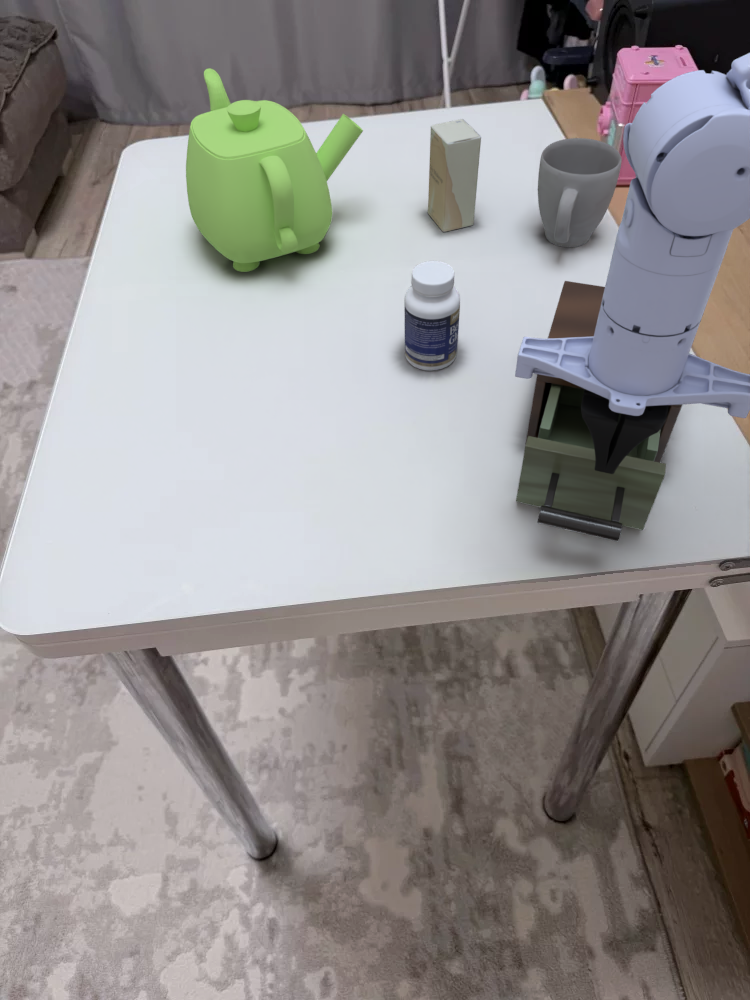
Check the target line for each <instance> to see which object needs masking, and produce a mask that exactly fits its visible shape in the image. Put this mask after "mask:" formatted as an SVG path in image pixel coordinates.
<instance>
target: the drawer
mask: <svg viewBox="0 0 750 1000" xmlns="http://www.w3.org/2000/svg"><path fill="white" fill-rule="evenodd" d="M584 390H585V389H580V388H575V387H569V386H564V385H559V384H553V383H552V385H551V389H550V393H549V396H548V400H547V404H546V407H545V411H544V415H543V418H542V422H541V426H540V430H539V435H538V438H536V437H531V436H528V438H527V442H526V441H525V443H526V445H525V444H524V445H525V446H524V451H523V457H522V461H521V462H522V463H521V469H520V475H519V479H518V487H517V492H516V498H515V502H516V503H521V504H524V505H529V506H533V507H538V508H539V512H538V516H537V521H536V523H537V524H540V525H543V526H549V527H552V528H558V529H561V530H562V529H563V530H566V531H570V532H574V533H579V534H584V535H587V536H592V537H595V538H600V539H605V540H610V541H613V542H619V541H620V538H621V534H622V530H623V527H627V528H630V529H635V530H640V531H643V530H644V529H645V527H646V524H647V521H648V519H649V516H650V514H651V512H652V510H653V507H654V504H655V501H656V499H657V497H658V493H659V491H660V489H661V486H662V483H663V481H664V479H665V476H666V471H667V470H666V469H667V463H663V462H660V463H659V462H654V460H655V457H656V454H657V452H658V445H659V437H660V430H661V429H660V430H659V432H657V433H655V434H653V435H651V436H650V437H648V438H646V439H645V440H643V441H642V442H641V443H639V444H638V445H637V446H636V447H635V448H633V449H632V450H631V451H630V452H629V454H628V455H627V456H626V457H625V458H624V459H623V460H622V462H621V463H620V464H619V466H618V467H617V469H616V471H615V473H614V474H609V473H604V472H599V471H595V449H594V444H593V440H592V436H591V433H590V431H589V428H588V426H587V424H586V422H585V421H584V419H583V418H582V412H581V403H582V399H583V394H584ZM621 414H622V413H619V417H618V422H619V419H620V417H621ZM617 424H618V423H617ZM616 427H617V425H616ZM615 429H616V428H615ZM614 432H615V431H614ZM613 434H614V433H613ZM612 437H613V436H612Z"/></svg>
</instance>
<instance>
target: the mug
mask: <svg viewBox="0 0 750 1000" xmlns="http://www.w3.org/2000/svg"><path fill="white" fill-rule="evenodd" d="M539 159H540V160H539V166H538V174H537V175H538V177H537V178H538V179H537V202H538V203H537V204H538V211H539V216H540V219H541V222H542V223H541V224H542V226H543V229H544V235H545V239H546V240H547V241H548V242H549V243H551V244H553V245H556V246H557V247H562V248H576V247H580V246H581V247H582V246H583V245H585V244H587V243H588V242H589V240H590V239H591V237H592V235H593V233H594V232H595V230H596V229H597V228H598V226H599V225H600V224H601V221H602V220H603V219H604V217H605V215H606V213H607V211H608V209H609V208H610V207H609V206H610V204H611V202H612V200H613V197H614V194H615V191H616V188H617V184H618V182H619V181H618V180H619V177H620V172H621V169H622V161H623V159H622V156H621V153H620V152H619V150H618V149H617V148H615V147H614V146H613V145H610V144H609V143H606V142H605V141H601V140H597V139H593V138H586V137H584V138H583V137H569V138H564V139H560V140H556V141H554V142H552V143H550V144H548V145H547V146H545V148H544V149H543V150H542V152H541V155H540V158H539Z"/></svg>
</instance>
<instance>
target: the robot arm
mask: <svg viewBox="0 0 750 1000" xmlns="http://www.w3.org/2000/svg"><path fill="white" fill-rule="evenodd" d="M730 66H731V68H730V69H729V70H728V72H726V74H725V73H722V72H720V71H717V70H711V72H710V73H707V72H706V71H705V69H699V70H693V71H688V72H685V73H682V74H680V75H676V76H675V77H673V78H671V79H669V80H667V81H666V82H665V83H663V84H662V85H660V86H659V87H657V88H656V89H655V90H654V91H653V92H652V93H651V94H650V96H651V97H650V98H649V99H648V100H647V102H645V101H644V102H643V103H642V104H641V106H640V107H639V109H638V111H637V112H636V114H635V116H634V118H633V120H632V122H628V123H626V124H625V125H624V128H623V135H622V143H623V144H622V145H623V149H624V154H625V156H626V160H627V162H628V164H629V165H630V167H631V169H632V170H633V172H634V174H635V177H634V178H632V179H631V180H630V183H629V189H628V192H627V196H626V200H625V204H624V209H623V213H622V217H621V221H620V222H619V226H618V229H617V232H616V237H615V241H614V246H613V250H612V254H611V259H610V264H609V267H608V272H607V276H606V281H605V286H604V287H605V289H604V294H603V298H602V302H601V307H600V311H599V315H598V320H597V324H596V328H595V333H594V336H592V337H572V338H551V339H548V338H541V337H533V336H532V337H531V336H523V338H522V341H521V343H520V347H519V350H518V353H517V358H516V366H515V373H514V377H516V378H520V379H524V380H525V379H526V380H529V379H532V378H533V375H537V374H539V375H545V376H550V377H556V378H561V379H563V380H566V381H568V382H570V383H573V384H575V385H577V386H579V387H582V388H584V389H585V390H584V394H583V399H582V403H581V412H582V418H583V419H584V421H585V422H586V424H587V426H588V428H589V431H590V433H591V436H592V440H593V444H594V449H595V471H599V472H604V473H609V474H614V473H615V471H616V469H617V467H618V466H619V464H620V463H621V462H622V460H623V459H624V458H625V457H626V456H627V455H628V454H629V452H630V451H631V450H632V449H633V448H635V447H636V446H637V445H638V444H639V443H641V442H642V441H643V440H645V439H646V438H648V437H650V436H651V435H653V434H655V433H657V432H659V430H660V429H661V428H662V426H663V425H664V423H665V421H666V418H667V412H668V406H669V405H679V404H683V405H696V404H697V405H699V404H702V405H705V406H706V405H708V406H713V407H718V408H724V409H727V414H728V415H729V416H731V417H734V418H741V419H746V418H747V417H748V415H749V413H750V374H749V373H745V372H742V371H738V370H734V369H732V368H728V367H725V366H724V365H723V366H722V365H720V364H718V363H715V362H712V361H711V360H707V359H705V358H702V357H700V356H698V355H695V354H692V353H690V352H691V349H692V347H693V344H694V341H695V338H696V335H697V333H698V330H699V327H700V324H701V321H702V319H703V316H704V313H705V311H706V307H707V305H708V302H709V299H710V297H711V294H712V291H713V289H714V288H713V287H714V286H715V282H716V280H717V277H718V274H719V272H720V269H721V267H722V264H723V261H724V258H725V256H726V252H727V249H728V247H729V243H730V240H731V238H732V235H733V232H734V230H735V229H737V228H738V227H740V226H741V225H743V224H744V223H746V222H747V221H748V220H750V52H748V53H746V54H744V55H742V56H739V57H738V58H736V59H733V61H732V62H731V65H730ZM619 413H622V414H621V417H620V419H619V422H618V417H619ZM617 423H618V424H617ZM616 425H617V427H616ZM615 428H616V429H615ZM614 431H615V432H614ZM613 433H614V434H613ZM612 436H613V437H612Z"/></svg>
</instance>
